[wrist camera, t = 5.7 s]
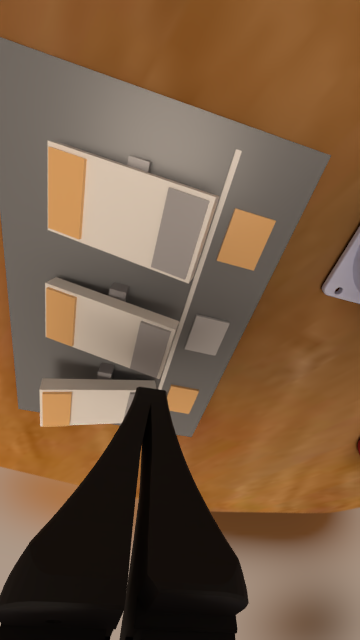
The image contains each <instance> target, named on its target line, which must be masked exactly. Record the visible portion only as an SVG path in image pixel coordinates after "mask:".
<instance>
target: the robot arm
mask: <svg viewBox="0 0 360 640" xmlns="http://www.w3.org/2000/svg"><path fill="white" fill-rule="evenodd" d="M339 287H340V288H339ZM337 288H339V290H338V291H336V292H335V290H336V289H337ZM322 291H323V293H325V294H326V295H328V296H332V297H335V298H339V299H343V300H347V301H350V302H354V303H358V304H360V227H359V228H358V230H357V231H356V233H355V235H354V236H353V238H352V239H351V241H350V243H349V244H348V246H347V247H346V249H345V251H344V252H343V254H342V255H341V257H340V259H339V260H338V262H337V263H336V265H335V267H334V268H333V270H332V271H331V273H330V275H329V276H328V278H327V279H326V281H325V283H324V284H323V286H322ZM141 446H142V455H141V476H140V493H139V503H138V510H137V518H136V526H135V534H134V541H133V548H132V556H131V563H130V570H129V560H130V549H131V538H132V526H133V517H134V507H135V497H136V487H137V478H138V469H139V460H140V452H141ZM128 571H129V577H128ZM127 582H128V585H127ZM126 591H127V592H126ZM247 605H248V595H247V589H246V584H245V580H244V576H243V572H242V569H241V566H240V563H239V560H238V558H237V556H236V555H235V553H234V551H233V550H232V548H231V547H230V545H229V543H228V542H227V540H226V539H225V537H224V535H223V534H222V532H221V531H220V529H219V527H218V525H217V524H216V522H215V520H214V519H213V517H212V515H211V513H210V511H209V509H208V507H207V506H206V504H205V502H204V500H203V498H202V496H201V494H200V492H199V490H198V488H197V486H196V484H195V482H194V480H193V478H192V475H191V473H190V471H189V468H188V466H187V464H186V461H185V459H184V456H183V453H182V451H181V448H180V445H179V442H178V439H177V436H176V433H175V429H174V426H173V423H172V419H171V415H170V410H169V406H168V400H167V392H166V391H165V390H159V389H153V388H146V387H137V388H136V392H135V395H134V398H133V401H132V403H131V405H130V408H129V410H128V412H127V414H126V416H125V418H124V420H123V422H122V423H121V425H120V427H119V429H118V430H117V432H116V434H115V435H114V437H113V439H112V440H111V442H110V444H109V445H108V447H107V448H106V450H105V451H104V453H103V454H102V456H101V457H100V459H99V460H98V461H97V463H96V464H95V466H94V467H93V468H92V470H91V471H90V472H89V474H88V475H87V476H86V478H85V479H84V480H83V482H82V483H81V484H80V485H79V487H78V488H77V489H76V490H75V492H74V493H73V494H72V495H71V496H70V498H69V499H68V500H67V501H66V503H65V504H64V505H63V506H62V507H61V508H60V510H59V511H58V512H57V513H56V514H55V515H54V516H53V518H52V519H51V520H50V521H49V522H48V523H47V524H46V525H45V526H44V527H43V528H42V529H41V531H40V532H39V533H38V534H37V535H36V536H35V537H34V538H33V539H32V540H31V542H30V543H29V545H28V546H27V548H26V549H25V551H24V552H23V554H22V555H21V557H20V558H19V560H18V562H17V563H16V565H15V566H14V568H13V570H12V571H11V573H10V575H9V577H8V579H7V581H6V583H5V585H4V587H3V590H2V592H1V595H0V622H1V626H0V640H110V636H111V634H112V631H113V629H116V627H117V624H118V622H119V620H120V618H121V616H122V613H123V611H124V614H123V620H122V626H121V633H120V640H235V633H237V623H236V614H238V613H239V612H241V611H242V610H243V609H245V607H246V606H247Z"/></svg>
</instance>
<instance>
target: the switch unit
mask: <svg viewBox="0 0 360 640" xmlns="http://www.w3.org/2000/svg"><path fill="white" fill-rule="evenodd" d="M48 141H53V142H58V143H62V144H65V145H68V146H71V147H74V148H77V149H80V150H83V151H86V152H89V153H92V154H95V155H98V156H101V157H104V158H107V159H110V160H113V161H116V162H119V163H122V164H125V165H128V166H131V167H134V168H137V169H140V170H143V171H146V172H149V173H151V174H154V175H157V176H160V177H163V178H166V179H169V180H172V181H175V182H178V183H181V184H184V185H187V186H190V187H193V188H196V189H199V190H202V191H205V192H208V193H211V194H214V195H217V196H220V197H219V200H218V203H217V206H216V209H215V212H214V215H213V218H212V221H211V224H210V228H209V231H208V234H207V237H206V240H205V243H204V246H203V249H202V252H201V255H200V258H199V261H198V265H197V268H196V271H195V274H194V277H193V279H192V280H191V281H190V282H189V284H188V283H186V282H183V281H180V280H178V279H175V278H172V277H170V276H167V275H165V274H162V273H159V272H157V271H154V270H151V269H149V268H146V267H144V266H141V265H138V264H136V263H133V262H131V261H128V260H125V259H123V258H120V257H117V256H115V255H112V254H110V253H107V252H104V251H102V250H99V249H96V248H94V247H91V246H89V245H86V244H83V243H81V242H78V241H75V240H73V239H70V238H68V237H65V236H62V235H60V234H57V233H55V232H52V231H49V230H48ZM330 157H331V155H328V154H325V153H322V152H319V151H317V150H314V149H311V148H308V147H305V146H303V145H300V144H297V143H294V142H291V141H289V140H286V139H283V138H280V137H278V136H275V135H272V134H269V133H266V132H264V131H261V130H258V129H255V128H252V127H250V126H247V125H244V124H241V123H238V122H236V121H233V120H230V119H227V118H224V117H222V116H219V115H216V114H213V113H210V112H208V111H205V110H202V109H199V108H196V107H194V106H191V105H188V104H185V103H183V102H180V101H177V100H174V99H171V98H169V97H166V96H163V95H160V94H157V93H155V92H152V91H149V90H146V89H143V88H141V87H138V86H135V85H132V84H129V83H127V82H124V81H121V80H118V79H115V78H113V77H110V76H107V75H104V74H101V73H99V72H96V71H93V70H90V69H88V68H85V67H82V66H79V65H76V64H74V63H71V62H68V61H65V60H62V59H60V58H57V57H54V56H51V55H48V54H46V53H43V52H40V51H37V50H34V49H32V48H29V47H26V46H23V45H20V44H18V43H15V42H12V41H9V40H6V39H4V38H1V37H0V213H1V224H2V235H3V245H4V256H5V267H6V278H7V288H8V299H9V310H10V321H11V332H12V342H13V353H14V364H15V375H16V386H17V396H18V407H19V409H23V410H29V411H35V412H40V392H39V389H40V386H41V382H42V378H52V379H105V380H155V383H156V389H159V390H165V391H166V392H167V400H168V406H169V410H170V415H171V419H172V423H173V426H174V429H175V433H176V435H182V436H188V437H192V435H193V433H194V431H195V429H196V427H197V425H198V423H199V421H200V419H201V417H202V415H203V413H204V411H205V409H206V407H207V405H208V403H209V401H210V399H211V397H212V395H213V393H214V391H215V389H216V387H217V385H218V383H219V381H220V379H221V377H222V375H223V373H224V371H225V369H226V366H227V364H228V362H229V360H230V358H231V356H232V354H233V352H234V350H235V348H236V346H237V344H238V342H239V340H240V338H241V336H242V334H243V332H244V330H245V328H246V326H247V324H248V322H249V320H250V318H251V316H252V314H253V312H254V310H255V308H256V306H257V304H258V302H259V300H260V298H261V296H262V294H263V292H264V290H265V288H266V286H267V284H268V282H269V280H270V278H271V276H272V274H273V272H274V270H275V268H276V266H277V264H278V262H279V260H280V258H281V256H282V254H283V252H284V250H285V248H286V246H287V244H288V242H289V240H290V238H291V236H292V234H293V232H294V230H295V228H296V226H297V224H298V222H299V219H300V217H301V215H302V213H303V211H304V209H305V207H306V205H307V203H308V201H309V199H310V197H311V195H312V193H313V191H314V189H315V187H316V185H317V183H318V181H319V179H320V177H321V175H322V173H323V171H324V169H325V167H326V165H327V163H328V161H329V159H330ZM55 277H57V278H60V279H63V280H66V281H68V282H71V283H74V284H77V285H80V286H82V287H85V288H88V289H91V290H93V291H96V292H99V293H102V294H105V295H107V296H110V297H113V298H116V299H119V300H121V301H124V302H127V303H130V304H133V305H135V306H138V307H141V308H144V309H146V310H149V311H152V312H155V313H158V314H160V315H163V316H166V317H169V318H172V319H174V320H177V321H179V324H178V327H177V330H176V333H175V336H174V339H173V342H172V345H171V349H170V352H169V355H168V358H167V361H166V364H165V367H164V370H163V372H162V375H161V377H160V379H157V378H155V377H152V376H149V375H146V374H144V373H141V372H138V371H136V370H133V369H130V368H128V367H125V366H122V365H120V364H117V363H114V362H112V361H109V360H106V359H103V358H101V357H98V356H95V355H93V354H90V353H87V352H85V351H82V350H79V349H77V348H74V347H71V346H69V345H66V344H63V343H60V342H58V341H55V340H52V339H50V338H47V337H46V334H45V283H46V282H48V281H49V280H51V279H53V278H55ZM114 424H115V425H121V423H114Z"/></svg>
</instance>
